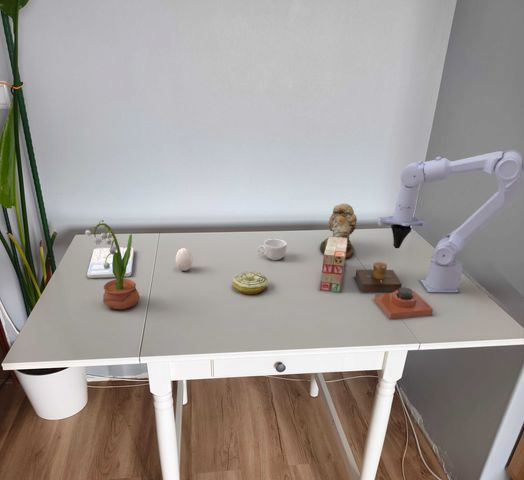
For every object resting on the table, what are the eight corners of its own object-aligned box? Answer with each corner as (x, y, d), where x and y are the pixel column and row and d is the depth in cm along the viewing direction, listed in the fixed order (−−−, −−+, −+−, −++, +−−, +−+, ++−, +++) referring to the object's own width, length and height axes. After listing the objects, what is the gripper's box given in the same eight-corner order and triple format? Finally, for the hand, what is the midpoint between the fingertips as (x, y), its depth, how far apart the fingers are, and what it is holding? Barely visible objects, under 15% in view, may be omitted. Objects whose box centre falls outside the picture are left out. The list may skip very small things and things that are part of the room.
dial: (372, 272, 158) (374, 260, 155) (385, 274, 157) (387, 262, 154) (371, 278, 154) (373, 265, 152) (384, 280, 154) (386, 267, 151)
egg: (184, 275, 159) (183, 253, 154) (172, 270, 161) (171, 248, 157) (196, 269, 162) (195, 247, 158) (184, 265, 165) (183, 243, 161)
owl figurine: (317, 239, 187) (322, 194, 177) (348, 240, 187) (354, 195, 178) (323, 260, 172) (328, 212, 162) (357, 261, 172) (364, 213, 163)
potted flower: (101, 316, 136) (86, 230, 122) (93, 300, 144) (79, 216, 130) (144, 307, 141) (134, 223, 127) (134, 292, 148) (124, 210, 135)
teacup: (282, 252, 176) (283, 237, 173) (288, 261, 170) (289, 246, 167) (255, 254, 174) (255, 239, 171) (259, 263, 168) (260, 248, 165)
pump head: (407, 293, 146) (408, 286, 145) (413, 299, 143) (415, 293, 142) (395, 294, 145) (396, 288, 144) (401, 300, 142) (402, 294, 141)
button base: (413, 296, 152) (416, 285, 149) (431, 315, 143) (434, 303, 141) (373, 300, 149) (376, 288, 147) (389, 319, 140) (392, 307, 138)
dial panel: (391, 278, 162) (392, 269, 160) (400, 292, 154) (401, 283, 152) (354, 277, 161) (356, 269, 159) (361, 292, 153) (363, 283, 151)
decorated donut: (274, 289, 153) (275, 278, 151) (248, 299, 147) (248, 288, 145) (252, 276, 159) (253, 266, 157) (226, 286, 153) (226, 275, 151)
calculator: (134, 251, 173) (133, 245, 172) (131, 277, 156) (130, 271, 155) (94, 252, 171) (93, 247, 170) (87, 279, 154) (86, 273, 153)
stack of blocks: (326, 261, 171) (330, 227, 164) (344, 263, 170) (349, 229, 163) (319, 290, 153) (323, 253, 146) (340, 293, 152) (345, 255, 145)
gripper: (386, 209, 145) (377, 252, 153) (433, 210, 147) (422, 252, 154) (379, 200, 151) (371, 242, 159) (425, 202, 153) (415, 243, 160)
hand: (396, 247), depth 157 cm, fingers closed
